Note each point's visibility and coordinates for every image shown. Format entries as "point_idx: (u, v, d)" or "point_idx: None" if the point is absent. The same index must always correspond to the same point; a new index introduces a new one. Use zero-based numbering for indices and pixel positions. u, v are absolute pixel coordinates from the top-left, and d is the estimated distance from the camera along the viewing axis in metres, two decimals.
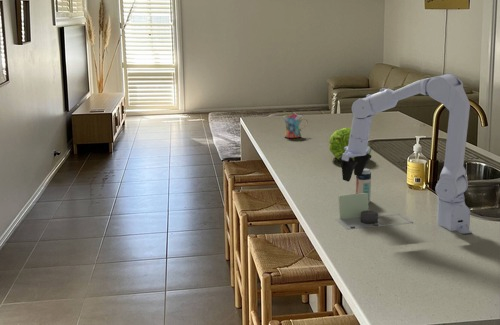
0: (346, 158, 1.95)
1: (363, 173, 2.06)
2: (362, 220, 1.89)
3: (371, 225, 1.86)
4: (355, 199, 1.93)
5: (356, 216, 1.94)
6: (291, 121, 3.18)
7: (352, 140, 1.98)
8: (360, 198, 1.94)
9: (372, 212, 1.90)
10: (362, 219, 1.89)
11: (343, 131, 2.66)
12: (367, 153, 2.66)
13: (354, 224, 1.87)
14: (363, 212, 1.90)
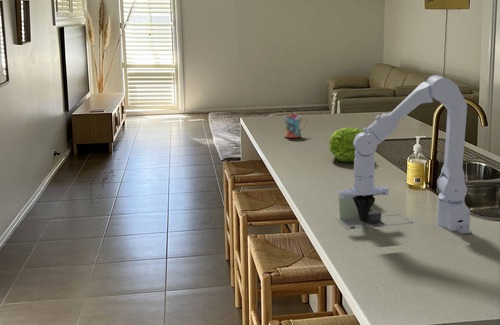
0: (340, 196, 1.84)
1: None
2: None
3: (371, 225, 1.86)
4: None
5: (356, 216, 1.94)
6: (291, 121, 3.18)
7: (354, 178, 1.85)
8: None
9: (375, 211, 1.91)
10: None
11: (343, 131, 2.66)
12: None
13: (354, 224, 1.87)
14: None
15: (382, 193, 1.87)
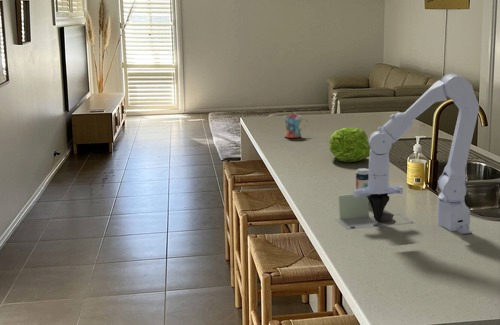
0: (355, 194, 1.85)
1: (363, 173, 2.06)
2: None
3: (371, 225, 1.86)
4: (355, 199, 1.93)
5: (356, 216, 1.94)
6: (291, 121, 3.18)
7: None
8: (360, 198, 1.94)
9: (387, 212, 1.92)
10: None
11: (343, 131, 2.66)
12: (367, 153, 2.66)
13: (354, 224, 1.87)
14: None
15: (396, 192, 1.88)
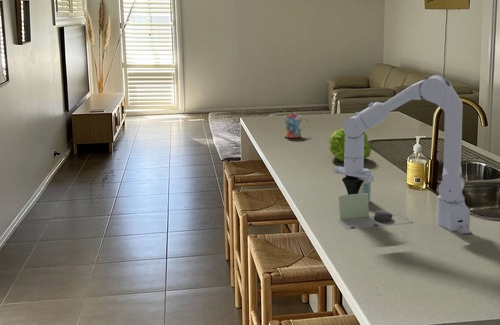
0: None
1: None
2: (376, 218, 1.90)
3: (371, 225, 1.86)
4: (355, 199, 1.93)
5: (356, 216, 1.94)
6: (291, 121, 3.18)
7: None
8: (360, 198, 1.94)
9: (386, 212, 1.92)
10: (377, 217, 1.90)
11: (343, 131, 2.66)
12: (367, 153, 2.66)
13: (354, 224, 1.87)
14: (378, 211, 1.92)
15: (366, 179, 1.90)
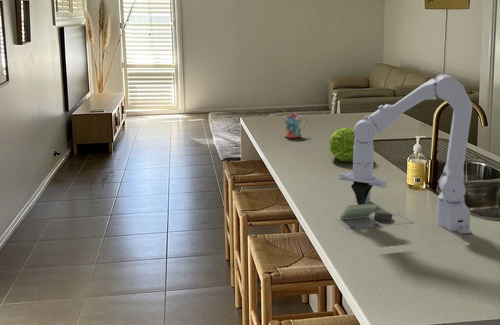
0: None
1: None
2: (376, 218, 1.90)
3: (371, 225, 1.86)
4: (362, 210, 1.89)
5: (356, 217, 1.93)
6: (291, 121, 3.18)
7: None
8: (367, 209, 1.89)
9: (386, 212, 1.92)
10: (377, 217, 1.90)
11: (343, 131, 2.66)
12: None
13: (354, 224, 1.87)
14: (378, 211, 1.92)
15: (379, 185, 1.84)
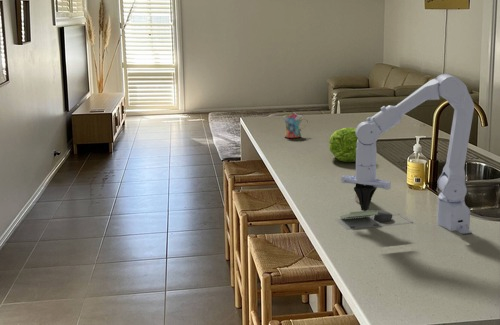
0: None
1: None
2: (376, 218, 1.90)
3: (371, 225, 1.86)
4: None
5: None
6: (291, 121, 3.18)
7: None
8: (368, 215, 1.88)
9: (386, 212, 1.92)
10: (377, 217, 1.90)
11: (343, 131, 2.66)
12: None
13: (354, 224, 1.87)
14: (378, 211, 1.92)
15: (383, 187, 1.83)
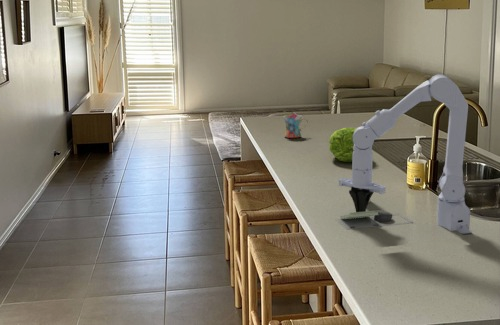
0: None
1: None
2: (376, 218, 1.90)
3: (371, 225, 1.86)
4: (363, 216, 1.88)
5: None
6: (291, 121, 3.18)
7: None
8: None
9: (386, 212, 1.92)
10: (377, 217, 1.90)
11: (343, 131, 2.66)
12: None
13: (354, 224, 1.87)
14: (378, 211, 1.92)
15: (378, 191, 1.85)
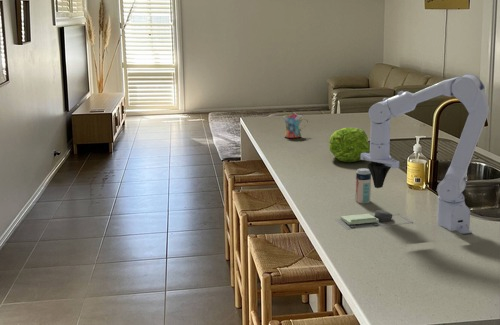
0: None
1: (363, 173, 2.06)
2: None
3: (371, 225, 1.86)
4: None
5: None
6: (291, 121, 3.18)
7: None
8: None
9: (386, 212, 1.92)
10: (377, 217, 1.90)
11: (343, 131, 2.66)
12: None
13: (354, 224, 1.87)
14: (378, 211, 1.92)
15: (392, 165, 1.88)
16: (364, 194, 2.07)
